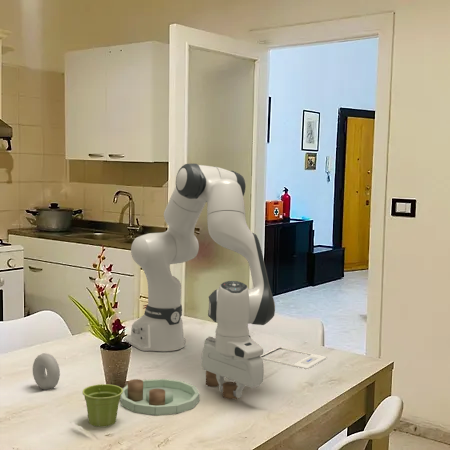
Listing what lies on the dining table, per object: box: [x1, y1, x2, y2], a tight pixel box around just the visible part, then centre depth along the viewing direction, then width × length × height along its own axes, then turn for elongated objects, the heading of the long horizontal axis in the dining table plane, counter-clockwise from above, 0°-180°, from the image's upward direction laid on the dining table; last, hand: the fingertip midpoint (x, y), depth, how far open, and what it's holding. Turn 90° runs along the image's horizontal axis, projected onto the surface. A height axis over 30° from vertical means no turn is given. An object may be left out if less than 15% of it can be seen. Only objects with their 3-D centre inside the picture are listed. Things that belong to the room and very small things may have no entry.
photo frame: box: [260, 346, 328, 370], centre depth 212 cm, size 15×1×18 cm
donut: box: [32, 352, 61, 391], centre depth 177 cm, size 10×3×10 cm, turn 50°
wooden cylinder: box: [205, 370, 219, 388], centre depth 185 cm, size 4×4×4 cm
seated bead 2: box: [149, 389, 165, 406], centre depth 163 cm, size 4×4×4 cm
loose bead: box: [222, 381, 239, 401], centre depth 173 cm, size 4×4×4 cm
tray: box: [119, 378, 200, 416], centre depth 169 cm, size 20×20×3 cm
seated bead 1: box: [127, 378, 143, 402], centre depth 169 cm, size 4×4×4 cm
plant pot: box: [82, 383, 123, 428], centre depth 154 cm, size 9×9×9 cm
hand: (230, 394), depth 173 cm, fingers closed on loose bead, 4 cm apart
